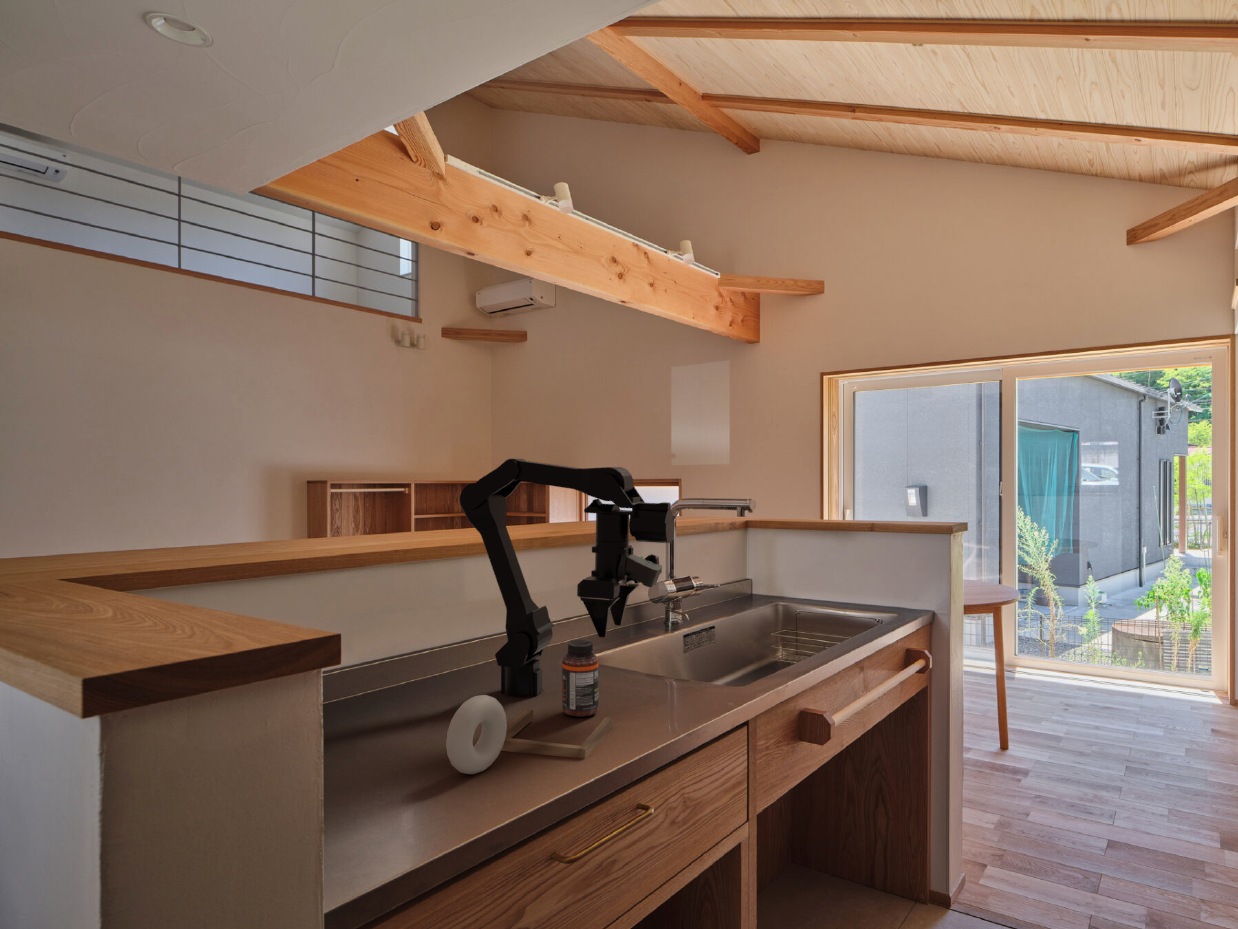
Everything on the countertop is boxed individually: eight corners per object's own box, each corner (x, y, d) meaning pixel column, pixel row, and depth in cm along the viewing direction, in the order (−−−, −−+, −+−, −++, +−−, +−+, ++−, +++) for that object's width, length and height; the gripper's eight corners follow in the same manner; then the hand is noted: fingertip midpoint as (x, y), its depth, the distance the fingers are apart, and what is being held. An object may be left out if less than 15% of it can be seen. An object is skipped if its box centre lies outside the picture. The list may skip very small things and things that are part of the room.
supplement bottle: (561, 706, 124) (561, 638, 123) (597, 705, 124) (597, 637, 124) (562, 718, 118) (562, 647, 117) (599, 717, 118) (599, 646, 118)
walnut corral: (491, 749, 105) (491, 738, 105) (527, 718, 117) (527, 709, 117) (585, 760, 101) (585, 749, 101) (612, 727, 114) (612, 717, 114)
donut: (460, 789, 92) (459, 709, 92) (440, 783, 94) (440, 704, 94) (512, 761, 101) (512, 688, 101) (493, 756, 102) (493, 684, 102)
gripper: (644, 549, 116) (642, 648, 116) (669, 537, 133) (668, 623, 134) (576, 545, 119) (575, 642, 119) (610, 534, 137) (609, 618, 137)
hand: (610, 631), depth 127 cm, fingers open, 9 cm apart
